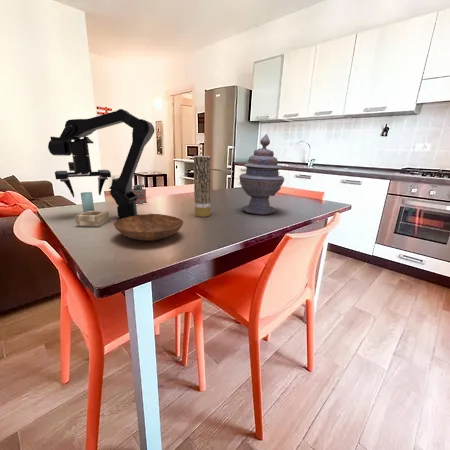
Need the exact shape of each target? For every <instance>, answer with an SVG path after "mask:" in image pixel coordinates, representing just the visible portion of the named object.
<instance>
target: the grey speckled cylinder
mask: <svg viewBox="0 0 450 450" xmlns="http://www.w3.org/2000/svg"><path fill="white" fill-rule="evenodd" d="M193 187H194V188H193V189H194V190H193V193H194V215H195V217H199V218H205V217H209V216H210V215H211V197H212V196H211V194H212V193H211V192H212V191H211V155H193Z"/></svg>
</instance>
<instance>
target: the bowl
mask: <svg viewBox="0 0 450 450" xmlns="http://www.w3.org/2000/svg"><path fill="white" fill-rule="evenodd" d="M183 225H184V221H183V219H181V218H178V217H176V216H173V215H172V216H171V215H167V214H159V213H147V214H137V216H131V217H126V218H122V219H117V220H115V221H114V223H113V226H114V228H115V230H116V231H117V232H119V233H120V234H121V235H123V236H125V237H127V238H130V239H133V240H139V241H148V242H149V241H153V242H155V241H158V240H162V239H165V238H167V237H171V236H172V235H174V234H175V233H177V232H178V231H179V230H180V229H181V228H182V227H183Z"/></svg>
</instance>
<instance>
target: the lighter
mask: <svg viewBox="0 0 450 450" xmlns="http://www.w3.org/2000/svg"><path fill="white" fill-rule="evenodd" d="M144 187H145V185H144V184H136V185H132V192H133V193H134V194H135V195H136V196H137V200H136V201H135V202H136V204H142V205H144V204H143V203H147V204H148V202H147V192H146V191H147V189H146V188H144Z"/></svg>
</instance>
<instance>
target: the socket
mask: <svg viewBox="0 0 450 450" xmlns="http://www.w3.org/2000/svg"><path fill="white" fill-rule="evenodd" d="M109 213H110V212H109V210H94V211H86V212H84V213H83V212H82V213H79V214H77V215H75V217H74V218H75V223H76V227H77V228H100V227H102V226H103V225H104V226H105V225H106V224H108V223H109V222H110V220H111V219H110V215H109Z"/></svg>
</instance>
